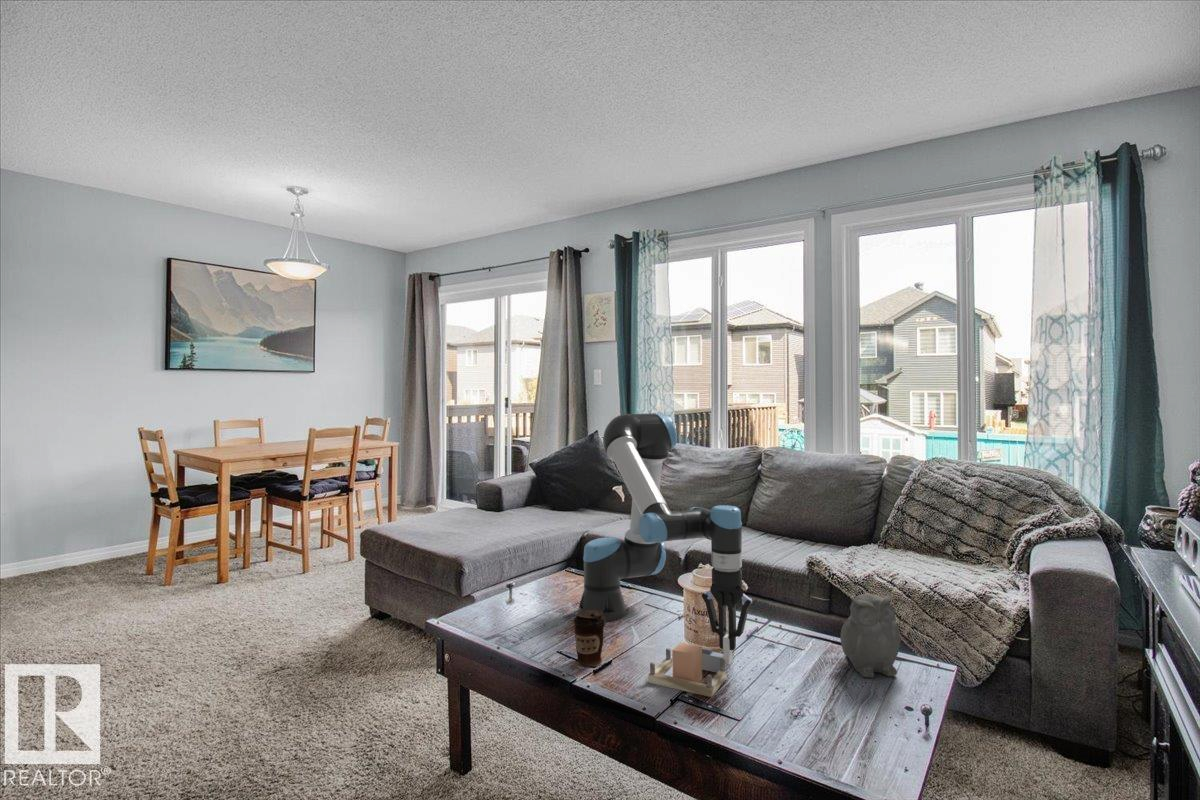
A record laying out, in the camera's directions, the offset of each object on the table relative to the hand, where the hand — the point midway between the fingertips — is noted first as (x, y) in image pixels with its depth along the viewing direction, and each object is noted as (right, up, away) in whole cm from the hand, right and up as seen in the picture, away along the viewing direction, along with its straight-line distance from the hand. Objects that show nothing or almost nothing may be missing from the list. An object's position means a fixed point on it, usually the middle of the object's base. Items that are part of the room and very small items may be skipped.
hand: (727, 661), depth 153 cm
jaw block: (-11, -3, -4) cm, 12 cm away
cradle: (-11, -3, -4) cm, 12 cm away
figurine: (+37, -3, +3) cm, 37 cm away
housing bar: (-5, -3, +3) cm, 6 cm away
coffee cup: (-35, -4, +7) cm, 36 cm away
